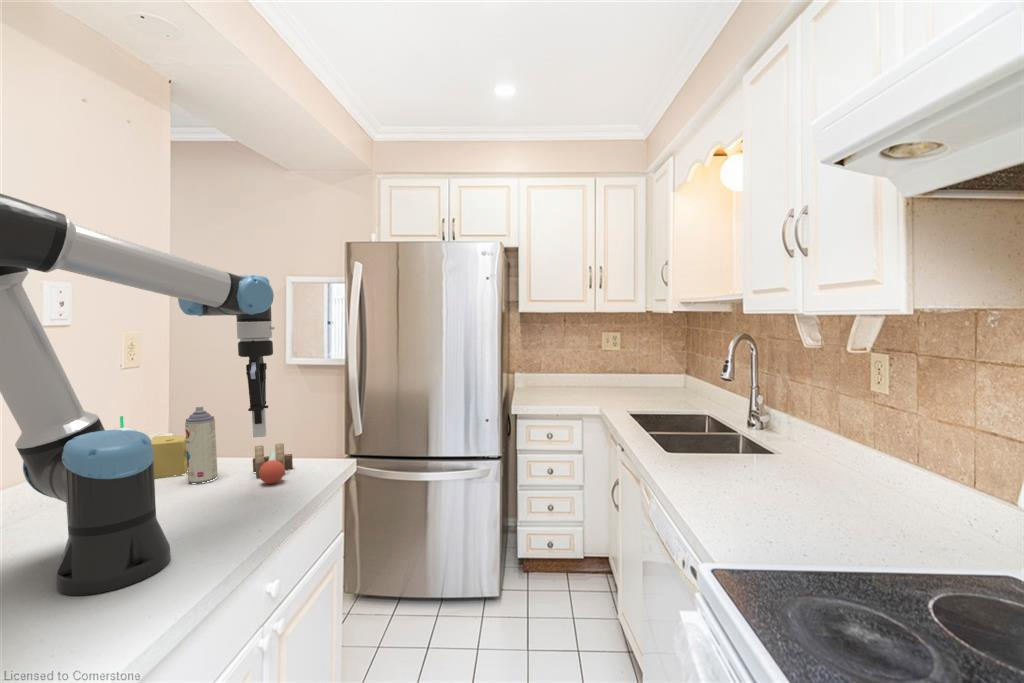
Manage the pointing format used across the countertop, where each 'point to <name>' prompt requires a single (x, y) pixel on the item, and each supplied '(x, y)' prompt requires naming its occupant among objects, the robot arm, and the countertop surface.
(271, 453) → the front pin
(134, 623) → the countertop surface
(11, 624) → the countertop surface
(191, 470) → the aerosol can
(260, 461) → the pin
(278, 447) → the pin
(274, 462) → the ball
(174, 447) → the yellow box
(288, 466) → the back wall
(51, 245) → the robot arm
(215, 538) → the countertop surface
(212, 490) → the countertop surface
